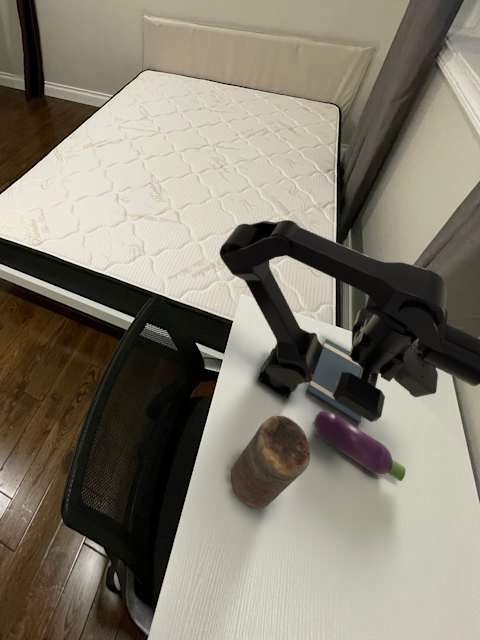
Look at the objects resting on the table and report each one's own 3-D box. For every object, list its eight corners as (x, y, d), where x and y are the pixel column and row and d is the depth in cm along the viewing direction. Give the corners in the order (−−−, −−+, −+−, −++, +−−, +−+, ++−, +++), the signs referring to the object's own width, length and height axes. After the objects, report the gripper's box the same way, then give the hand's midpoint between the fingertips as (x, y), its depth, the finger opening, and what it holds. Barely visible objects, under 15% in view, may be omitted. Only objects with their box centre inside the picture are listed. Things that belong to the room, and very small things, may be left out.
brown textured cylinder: (276, 467, 65) (312, 425, 53) (274, 518, 60) (312, 485, 47) (233, 450, 67) (258, 406, 54) (227, 498, 62) (252, 461, 49)
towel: (306, 391, 75) (307, 389, 75) (325, 339, 84) (326, 338, 84) (358, 423, 71) (360, 422, 71) (372, 365, 80) (373, 364, 79)
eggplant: (307, 432, 70) (314, 427, 66) (316, 408, 72) (323, 402, 69) (392, 490, 63) (405, 488, 60) (399, 461, 66) (411, 457, 62)
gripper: (445, 426, 46) (390, 464, 56) (453, 319, 58) (406, 366, 68) (351, 373, 51) (316, 416, 61) (376, 284, 63) (343, 333, 73)
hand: (348, 381), depth 65 cm, fingers open, 9 cm apart
